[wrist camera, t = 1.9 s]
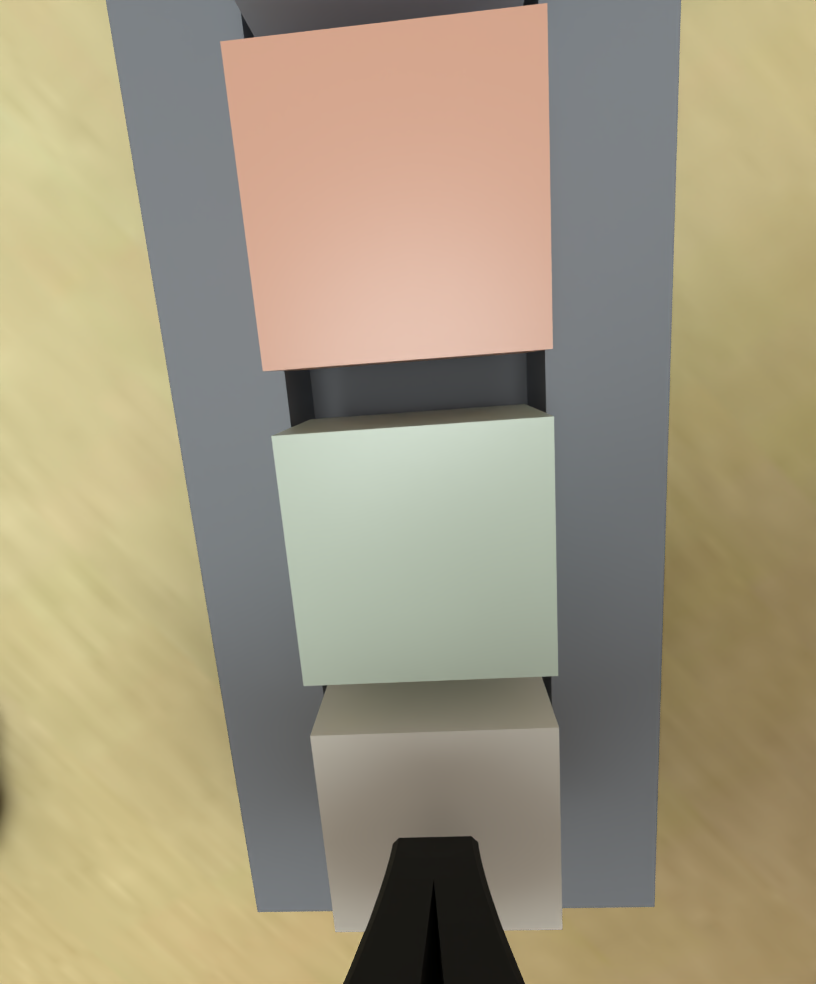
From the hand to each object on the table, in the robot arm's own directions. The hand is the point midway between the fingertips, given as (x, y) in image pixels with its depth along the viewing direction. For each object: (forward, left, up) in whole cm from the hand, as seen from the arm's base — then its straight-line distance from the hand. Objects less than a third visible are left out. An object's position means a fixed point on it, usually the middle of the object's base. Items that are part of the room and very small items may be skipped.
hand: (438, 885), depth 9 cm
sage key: (0, -5, -4) cm, 7 cm away
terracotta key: (0, -11, -4) cm, 11 cm away
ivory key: (0, 0, -4) cm, 4 cm away
